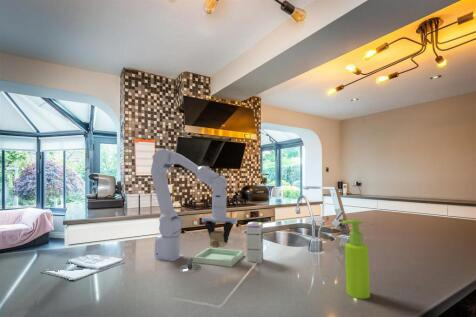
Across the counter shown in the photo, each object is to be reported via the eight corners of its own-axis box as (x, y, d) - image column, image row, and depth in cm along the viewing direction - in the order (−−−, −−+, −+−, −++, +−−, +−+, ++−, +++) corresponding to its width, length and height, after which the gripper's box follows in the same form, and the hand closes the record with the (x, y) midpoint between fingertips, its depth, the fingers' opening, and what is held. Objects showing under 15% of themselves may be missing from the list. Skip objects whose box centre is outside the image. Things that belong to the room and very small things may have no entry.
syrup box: (261, 263, 94) (261, 224, 95) (246, 262, 95) (246, 223, 97) (263, 259, 100) (263, 221, 101) (248, 258, 101) (248, 221, 102)
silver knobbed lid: (173, 272, 85) (173, 261, 86) (185, 264, 93) (185, 254, 93) (194, 275, 83) (194, 263, 83) (205, 267, 90) (205, 256, 91)
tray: (192, 263, 94) (192, 257, 95) (208, 253, 107) (208, 247, 107) (231, 268, 89) (231, 261, 90) (243, 257, 102) (243, 251, 102)
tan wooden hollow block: (215, 242, 102) (215, 230, 102) (227, 243, 100) (227, 230, 101) (208, 246, 96) (208, 233, 96) (221, 248, 94) (221, 234, 94)
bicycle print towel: (125, 264, 96) (125, 258, 96) (71, 284, 77) (71, 277, 78) (92, 257, 104) (92, 252, 104) (36, 274, 85) (36, 268, 86)
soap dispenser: (339, 289, 72) (336, 219, 74) (362, 288, 73) (359, 218, 74) (349, 299, 66) (347, 222, 68) (374, 298, 67) (371, 222, 69)
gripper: (198, 206, 99) (197, 242, 97) (232, 208, 94) (232, 245, 93) (206, 205, 105) (206, 238, 104) (239, 206, 100) (239, 241, 99)
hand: (219, 241), depth 99 cm, fingers closed on tan wooden hollow block, 5 cm apart
